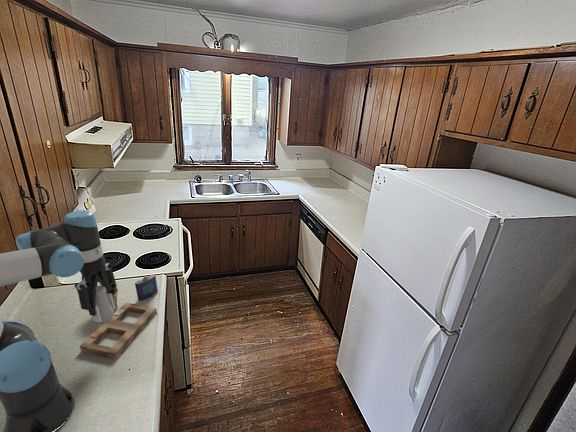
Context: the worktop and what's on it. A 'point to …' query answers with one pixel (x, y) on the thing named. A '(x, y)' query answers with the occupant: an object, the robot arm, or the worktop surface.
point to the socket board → (118, 330)
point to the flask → (146, 287)
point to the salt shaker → (103, 304)
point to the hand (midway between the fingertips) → (104, 314)
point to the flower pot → (115, 297)
